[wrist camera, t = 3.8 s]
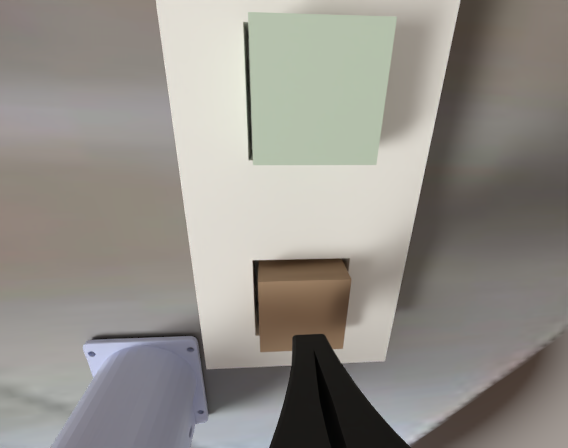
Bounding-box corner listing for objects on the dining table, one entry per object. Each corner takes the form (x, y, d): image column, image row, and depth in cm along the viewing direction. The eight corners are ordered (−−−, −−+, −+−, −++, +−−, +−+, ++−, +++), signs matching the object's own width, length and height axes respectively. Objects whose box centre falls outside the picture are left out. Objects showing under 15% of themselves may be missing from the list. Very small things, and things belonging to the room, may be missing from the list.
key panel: (364, 316, 21) (384, 361, 18) (216, 322, 21) (206, 369, 17) (416, -15, 13) (472, -59, 10) (180, -24, 13) (145, -74, 9)
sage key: (349, 149, 13) (376, 164, 10) (255, 149, 13) (253, 165, 10) (360, 40, 12) (396, 16, 8) (252, 37, 11) (247, 12, 8)
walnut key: (329, 305, 18) (342, 348, 15) (260, 307, 18) (260, 352, 15) (334, 244, 17) (351, 279, 13) (259, 246, 16) (257, 281, 13)
